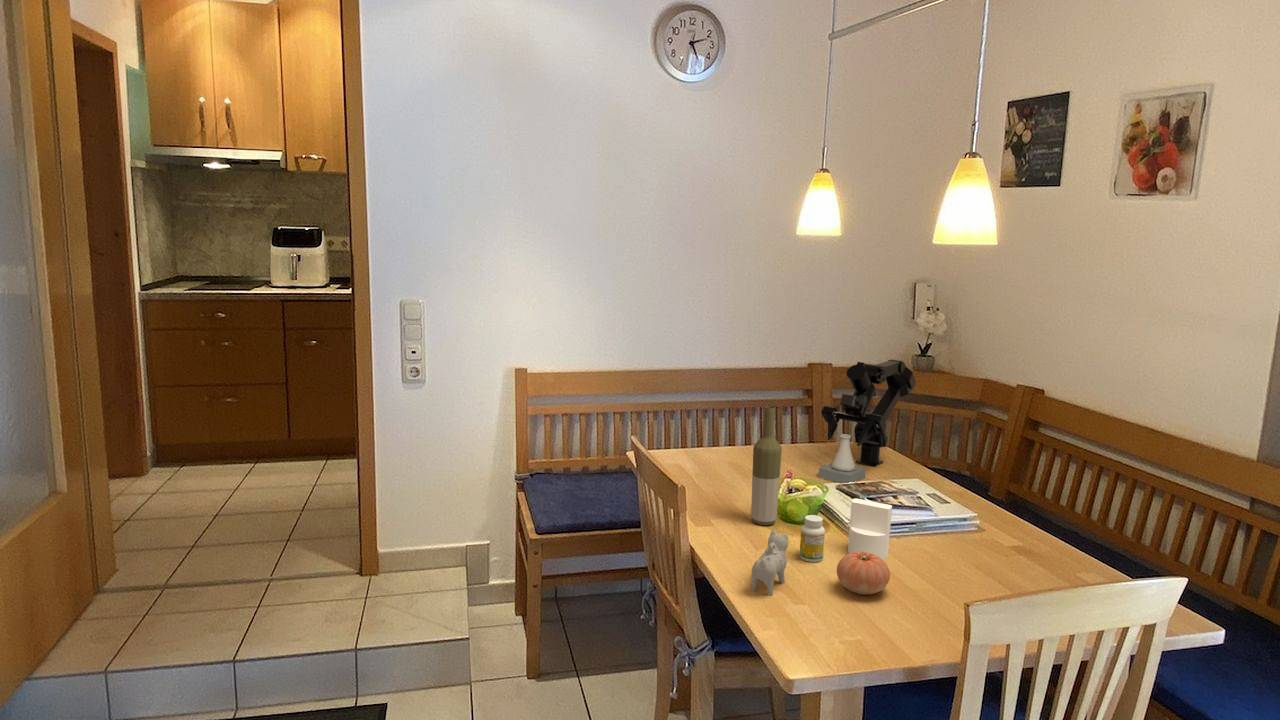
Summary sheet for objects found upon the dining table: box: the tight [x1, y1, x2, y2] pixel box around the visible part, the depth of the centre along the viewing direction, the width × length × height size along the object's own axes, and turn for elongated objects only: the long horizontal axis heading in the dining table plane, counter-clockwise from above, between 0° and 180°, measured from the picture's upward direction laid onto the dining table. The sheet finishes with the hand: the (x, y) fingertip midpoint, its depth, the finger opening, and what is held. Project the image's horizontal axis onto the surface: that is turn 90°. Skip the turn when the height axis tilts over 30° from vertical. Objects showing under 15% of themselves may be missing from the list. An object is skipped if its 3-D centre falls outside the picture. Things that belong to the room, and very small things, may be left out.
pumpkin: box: [836, 552, 891, 595], centre depth 176 cm, size 11×11×8 cm
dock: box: [818, 461, 867, 484], centre depth 250 cm, size 10×10×3 cm
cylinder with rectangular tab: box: [847, 497, 893, 560], centre depth 195 cm, size 9×9×12 cm
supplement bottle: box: [799, 514, 826, 563], centre depth 191 cm, size 5×5×10 cm
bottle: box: [750, 405, 782, 526], centre depth 211 cm, size 7×7×30 cm
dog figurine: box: [750, 529, 789, 596], centre depth 178 cm, size 5×13×11 cm, turn 151°
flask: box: [831, 433, 856, 471], centre depth 249 cm, size 7×7×10 cm
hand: (843, 442), depth 247 cm, fingers open, 9 cm apart
